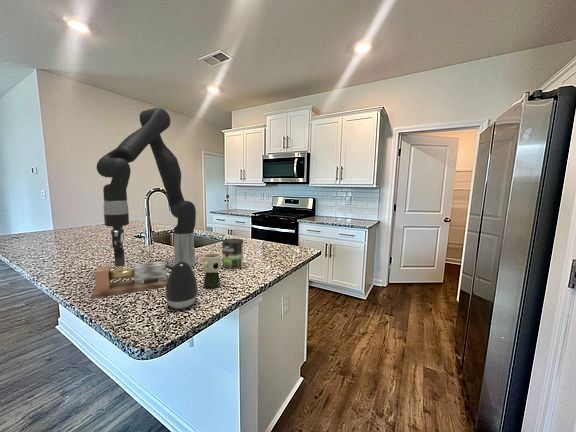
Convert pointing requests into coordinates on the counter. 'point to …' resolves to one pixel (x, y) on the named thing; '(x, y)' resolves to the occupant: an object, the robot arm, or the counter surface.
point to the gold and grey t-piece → (121, 269)
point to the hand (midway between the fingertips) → (119, 255)
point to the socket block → (102, 278)
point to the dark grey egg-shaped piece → (181, 286)
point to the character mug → (211, 269)
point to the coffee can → (232, 254)
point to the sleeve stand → (138, 280)
